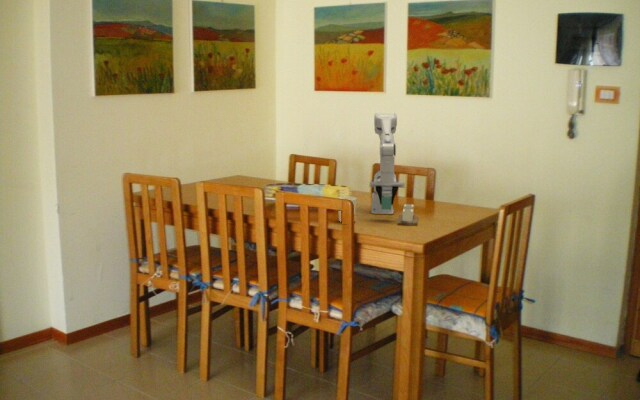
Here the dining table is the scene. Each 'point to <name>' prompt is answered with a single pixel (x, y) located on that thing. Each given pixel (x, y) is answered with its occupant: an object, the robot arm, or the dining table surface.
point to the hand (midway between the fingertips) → (386, 204)
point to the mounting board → (412, 223)
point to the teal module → (386, 202)
